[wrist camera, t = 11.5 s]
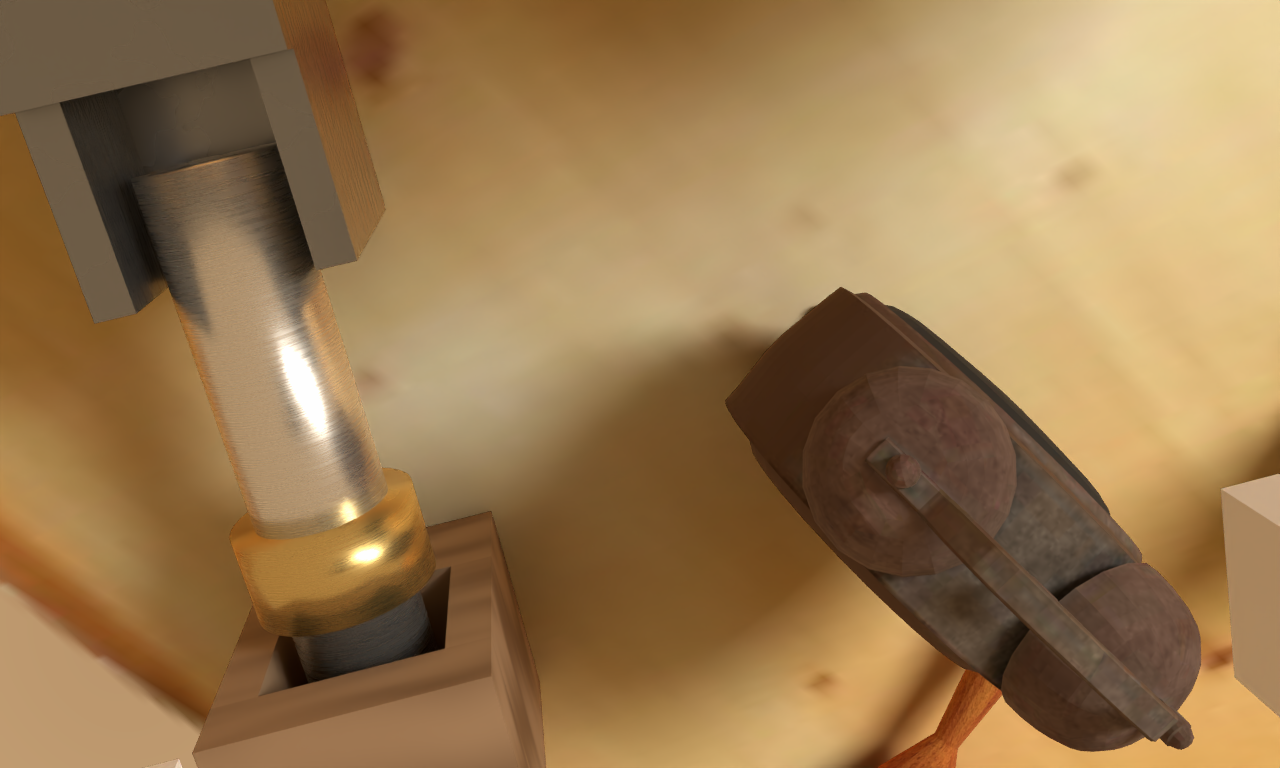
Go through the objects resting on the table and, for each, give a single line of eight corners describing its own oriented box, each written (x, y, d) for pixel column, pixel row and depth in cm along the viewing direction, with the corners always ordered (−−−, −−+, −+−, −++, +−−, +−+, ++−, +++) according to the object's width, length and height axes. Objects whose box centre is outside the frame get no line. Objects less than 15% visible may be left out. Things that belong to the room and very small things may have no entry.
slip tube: (135, 171, 38) (73, 198, 33) (319, 128, 39) (290, 147, 33) (313, 677, 44) (287, 775, 38) (472, 637, 44) (469, 728, 39)
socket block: (268, 567, 47) (192, 753, 35) (491, 511, 48) (491, 676, 36) (327, 737, 50) (276, 965, 38) (539, 682, 50) (555, 890, 38)
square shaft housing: (69, -58, 40) (-77, -86, 30) (293, -109, 40) (226, -153, 30) (179, 258, 43) (82, 332, 33) (385, 209, 44) (353, 267, 33)
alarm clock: (1041, 454, 50) (1382, 722, 31) (916, 575, 51) (1171, 907, 32) (806, 216, 46) (1031, 355, 27) (673, 351, 47) (799, 580, 28)
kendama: (1174, 593, 48) (912, 992, 50) (1078, 531, 53) (845, 894, 56) (1077, 540, 45) (806, 962, 48) (986, 481, 51) (746, 863, 53)
